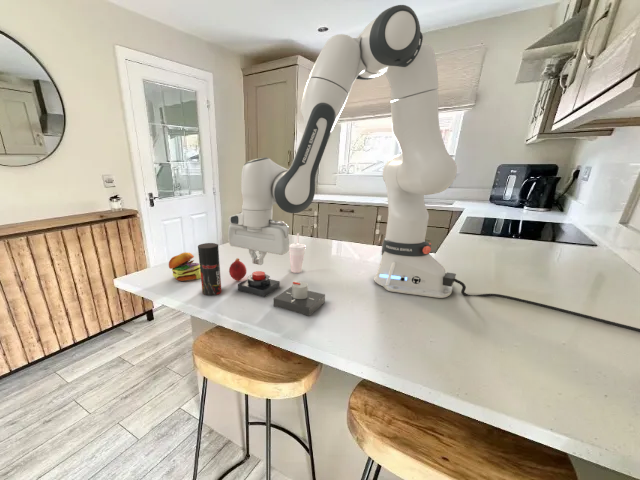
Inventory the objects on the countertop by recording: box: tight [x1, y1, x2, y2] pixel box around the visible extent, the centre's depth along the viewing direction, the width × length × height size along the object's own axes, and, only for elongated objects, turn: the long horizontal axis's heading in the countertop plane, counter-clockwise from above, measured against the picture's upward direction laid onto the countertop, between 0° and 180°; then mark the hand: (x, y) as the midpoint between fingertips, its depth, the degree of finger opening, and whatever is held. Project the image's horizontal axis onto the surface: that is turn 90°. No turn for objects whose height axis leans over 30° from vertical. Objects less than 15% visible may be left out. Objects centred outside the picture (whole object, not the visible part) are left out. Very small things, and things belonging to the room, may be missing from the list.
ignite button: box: [251, 270, 266, 280], centre depth 96 cm, size 4×4×2 cm
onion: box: [228, 257, 247, 282], centre depth 103 cm, size 6×6×8 cm
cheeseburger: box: [168, 251, 201, 282], centre depth 108 cm, size 10×11×10 cm
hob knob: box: [291, 281, 309, 299], centre depth 85 cm, size 4×4×4 cm
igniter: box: [237, 273, 281, 298], centre depth 97 cm, size 10×9×4 cm
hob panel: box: [273, 286, 326, 317], centre depth 86 cm, size 11×10×3 cm
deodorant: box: [197, 242, 222, 297], centre depth 93 cm, size 6×6×15 cm
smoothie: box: [288, 232, 307, 274], centre depth 110 cm, size 6×6×14 cm
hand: (257, 263), depth 94 cm, fingers closed
